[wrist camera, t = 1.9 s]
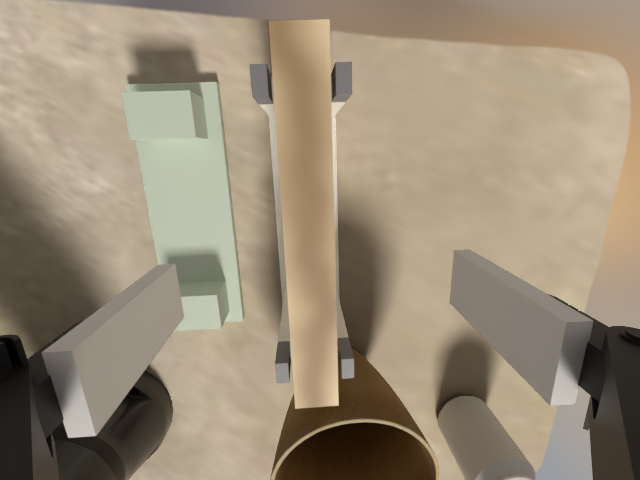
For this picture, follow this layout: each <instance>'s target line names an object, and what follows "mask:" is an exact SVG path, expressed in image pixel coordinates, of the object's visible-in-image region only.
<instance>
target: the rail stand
mask: <svg viewBox="0 0 640 480" xmlns="http://www.w3.org/2000/svg"><path fill="white" fill-rule="evenodd" d="M250 75H251V87H252V97H253V98H254V99H255V100H256V102H257V103H258V104H259V105H260V106H261V108H262V109H263V110H264V111H265V112H266V113H267V115H268V116H269V129H270V142H271V156H272V169H273V183H274V197H275V210H276V224H277V237H278V251H279V264H280V278H281V291H282V305H283V308H282V315H281V323H280V331H279V338H278V346H277V354H276V361H275V368H276V380H277V383H289V381H290V363H291V359H292V355H291V341H290V326H289V312H288V297H287V283H286V268H285V253H284V239H283V224H282V210H281V195H280V181H279V166H278V152H277V137H276V122H275V108H274V93H273V79H272V76H271V75H270V72H269V70H268V67H267V65H266V64H250ZM351 95H352V62H335V65H334V68H333V71H332V74H331V102H332V144H333V186H334V228H335V270H336V311H337V353H338V360H339V365H340V371H341V377H342V379H347V378H354V356H353V352H352V348H351V345H350V341H349V337H348V333H347V329H346V325H345V321H344V317H343V313H342V309H341V305H340V302H339V255H338V208H337V160H336V113H337V112H338V111H339V110H340V108H341V107H342V106H343V105H344V103H345V102H346V101H347V100H348V98H349V97H350V96H351Z"/></svg>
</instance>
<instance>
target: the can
mask: <svg viewBox="0 0 640 480" xmlns="http://www.w3.org/2000/svg"><path fill="white" fill-rule="evenodd" d="M438 425H439V428H440V430H441V432H442V434H443V436H444V438H445V440H446V442H447V444H448V446H449V448H450V450H451V452H452V454H453V456H454V458H455V460H456V462H457V464H458V466H459V468H460V470H461V472H462V474H463V476H464V478H465V480H536V472H535V470H534V469H533V467H532V465H531V464H530V463H529V461H528V460H527V459H526V457H525V456H524V455H523V453H522V452H521V451H520V449H519V448H518V446H517V445H516V444H515V442H514V441H513V440H512V438H511V437H510V436H509V434H508V433H507V432H506V430H505V429H504V428H503V426H502V425H501V424H500V422H499V421H498V419H497V418H496V417H495V415H494V414H493V413H492V411H491V410H490V409H489V407H488V406H487V405H486V403H485V402H483V401H482V400H481V399H479V398H477V397H474V396H459V397H455V398H453V399H451V400H449V401H448V402H447V403H446V404H445V405H444V407H443V408H442V410H441V411H440V413H439V417H438Z"/></svg>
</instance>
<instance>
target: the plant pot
mask: <svg viewBox="0 0 640 480" xmlns="http://www.w3.org/2000/svg"><path fill="white" fill-rule="evenodd" d="M351 348H352V347H351ZM352 352H353V356H354V378H347V379H342V377H341V371H340V365H339V360H338V395H339V406H326V407H312V408H299V409H295V399H294V395H293V397H292V400H291V402H290V405H289V408H288V411H287V415H286V418H285V421H284V425H283V428H282V431H281V435H280V439H279V443H278V447H277V451H276V456H275V460H274V464H273V469H272V474H271V479H270V480H439V465H438V462H437V459H436V456H435V454H434V452H433V450H432V449H431V447H430V445H429V444H428V442H427V441H426V439H425V437H424V436H423V434H422V432H421V431H420V429H419V428H418V426H417V424H416V423H415V421H414V420H413V418H412V417H411V415H410V414H409V412H408V411H407V409H406V408H405V406H404V405H403V403H402V402H401V400H400V399H399V398H398V396H397V395H396V393H395V392H394V391H393V389H392V388H391V387H390V386H389V384H388V383H387V382H386V381H385V379H384V378H383V377H382V376H381V375H380V373H379V372H378V371H377V370H376V369H375V368H374V367H373V366H372V365H371V364H370V363H369V362H368V361H367V360H366V359H365V358H364V357H363V356H362V355H361V354H360V353H358V352H357V351H356V350H355V349H354V348H352Z"/></svg>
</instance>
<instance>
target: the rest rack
mask: <svg viewBox="0 0 640 480" xmlns="http://www.w3.org/2000/svg"><path fill="white" fill-rule="evenodd" d="M125 86H126V92H121V94H122V100H123V105H124V110H125V116H126V121H127V126H128V132H129V137H130V139H131V140H135V141H136V146H137V152H138V157H139V163H140V168H141V174H142V179H143V185H144V190H145V196H146V201H147V207H148V212H149V218H150V223H151V229H152V234H153V240H154V245H155V251H156V256H157V262H158V265H161V264H175V265H176V271H177V277H178V283H179V289H180V295H181V301H182V307H183V313H184V318H183V320H182V321H181V322H180V324H179V325H178V326H177V328H176V329H175V330H174V331H184V330H201V329H217V328H222V326H223V324H224V322H236V321H243V320H244V317H245V316H244V307H243V298H242V289H241V280H240V271H239V261H238V252H237V243H236V234H235V225H234V216H233V207H232V198H231V189H230V180H229V171H228V162H227V153H226V143H225V134H224V125H223V116H222V107H221V98H220V89H219V84H218V83H217V82H189V83H151V84H125Z"/></svg>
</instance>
